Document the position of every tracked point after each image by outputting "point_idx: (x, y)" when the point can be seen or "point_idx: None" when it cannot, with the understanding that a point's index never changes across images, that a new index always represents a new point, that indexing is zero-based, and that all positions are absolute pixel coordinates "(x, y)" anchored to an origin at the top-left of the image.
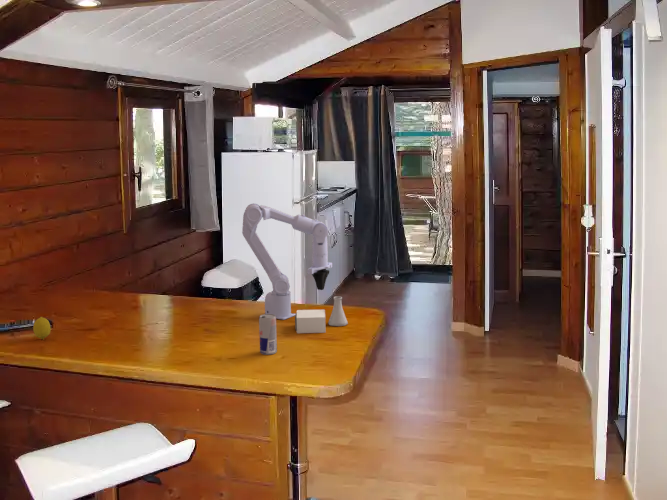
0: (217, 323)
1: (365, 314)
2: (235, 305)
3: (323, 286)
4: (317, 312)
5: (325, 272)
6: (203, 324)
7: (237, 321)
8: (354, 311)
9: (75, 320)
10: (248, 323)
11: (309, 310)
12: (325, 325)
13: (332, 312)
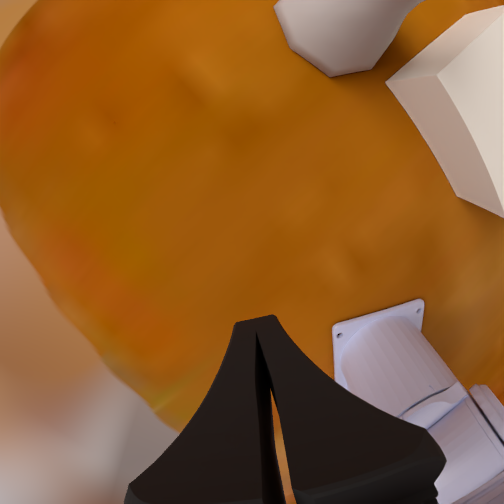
0: (490, 381)
1: (58, 55)
2: None
3: (259, 334)
4: (496, 80)
5: (323, 499)
6: (499, 387)
7: (469, 373)
8: (49, 151)
9: None
10: (482, 340)
11: (492, 150)
12: (486, 9)
13: (397, 26)
